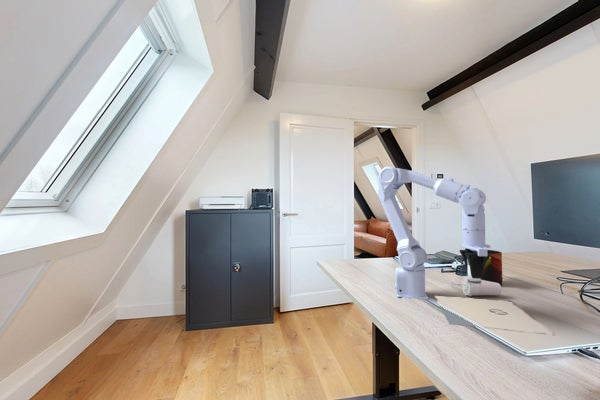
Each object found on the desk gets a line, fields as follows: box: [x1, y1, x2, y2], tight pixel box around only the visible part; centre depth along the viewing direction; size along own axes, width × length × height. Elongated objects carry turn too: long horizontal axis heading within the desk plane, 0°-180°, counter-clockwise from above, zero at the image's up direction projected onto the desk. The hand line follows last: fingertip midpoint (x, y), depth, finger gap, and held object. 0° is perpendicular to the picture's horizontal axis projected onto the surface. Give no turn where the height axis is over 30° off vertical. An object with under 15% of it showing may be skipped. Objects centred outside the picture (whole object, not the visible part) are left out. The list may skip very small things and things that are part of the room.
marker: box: [467, 259, 481, 285], centre depth 77 cm, size 3×3×8 cm
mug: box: [481, 249, 503, 287], centre depth 102 cm, size 10×14×12 cm
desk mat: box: [438, 299, 514, 328], centre depth 75 cm, size 22×22×1 cm
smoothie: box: [451, 275, 503, 297], centre depth 87 cm, size 6×6×14 cm
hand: (474, 276), depth 77 cm, fingers closed on marker, 3 cm apart
